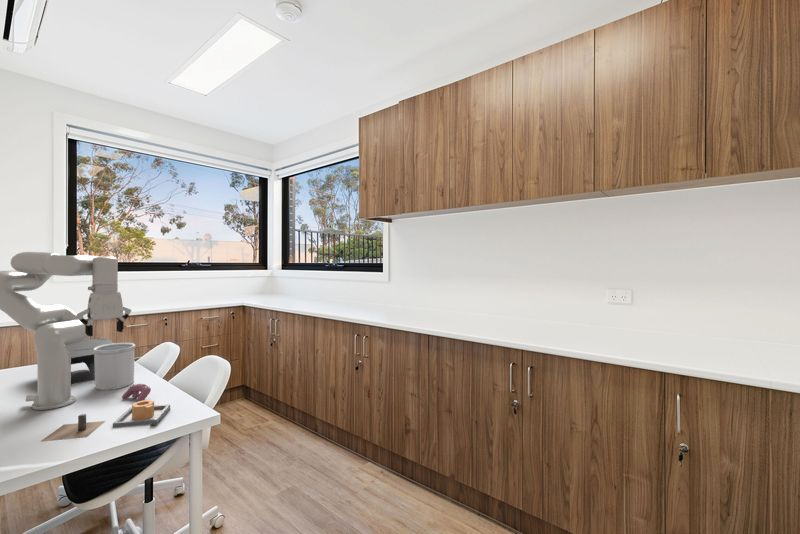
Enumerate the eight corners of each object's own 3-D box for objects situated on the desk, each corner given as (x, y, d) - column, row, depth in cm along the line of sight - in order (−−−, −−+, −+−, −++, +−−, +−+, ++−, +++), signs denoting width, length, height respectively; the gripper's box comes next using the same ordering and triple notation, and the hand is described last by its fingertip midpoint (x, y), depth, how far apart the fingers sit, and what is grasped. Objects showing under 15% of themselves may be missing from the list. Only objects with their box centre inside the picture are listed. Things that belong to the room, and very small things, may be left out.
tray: (112, 429, 123) (112, 423, 123) (130, 412, 137) (130, 407, 137) (156, 425, 127) (156, 419, 127) (170, 409, 140) (170, 404, 140)
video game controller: (147, 403, 150) (154, 386, 152) (137, 402, 146) (145, 384, 149) (129, 400, 153) (137, 383, 155) (119, 399, 149) (127, 381, 151)
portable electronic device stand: (106, 365, 196) (106, 336, 196) (123, 373, 183) (123, 342, 182) (40, 377, 175) (40, 344, 175) (54, 387, 162) (54, 352, 161)
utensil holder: (127, 389, 161) (127, 349, 161) (86, 392, 157) (86, 351, 157) (140, 378, 175) (140, 341, 175) (103, 381, 171) (103, 343, 171)
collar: (140, 423, 127) (140, 408, 127) (129, 418, 131) (129, 404, 131) (159, 416, 132) (159, 403, 132) (147, 412, 136) (147, 398, 136)
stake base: (40, 444, 113) (40, 425, 113) (63, 426, 125) (63, 410, 125) (86, 439, 116) (86, 421, 116) (105, 423, 128) (105, 407, 128)
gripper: (81, 290, 131) (81, 338, 132) (135, 288, 146) (135, 331, 147) (72, 289, 135) (72, 336, 135) (125, 287, 150) (125, 329, 150)
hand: (105, 333), depth 141 cm, fingers open, 9 cm apart
